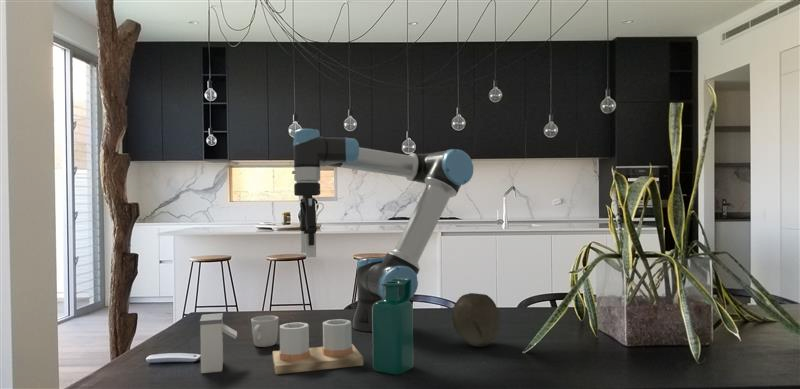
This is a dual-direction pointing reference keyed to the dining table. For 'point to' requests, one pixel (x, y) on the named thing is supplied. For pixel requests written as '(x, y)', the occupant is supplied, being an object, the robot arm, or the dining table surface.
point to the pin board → (316, 361)
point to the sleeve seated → (337, 338)
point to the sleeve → (294, 341)
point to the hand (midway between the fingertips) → (308, 255)
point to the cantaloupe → (476, 319)
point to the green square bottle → (393, 328)
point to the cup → (264, 330)
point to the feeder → (213, 341)
